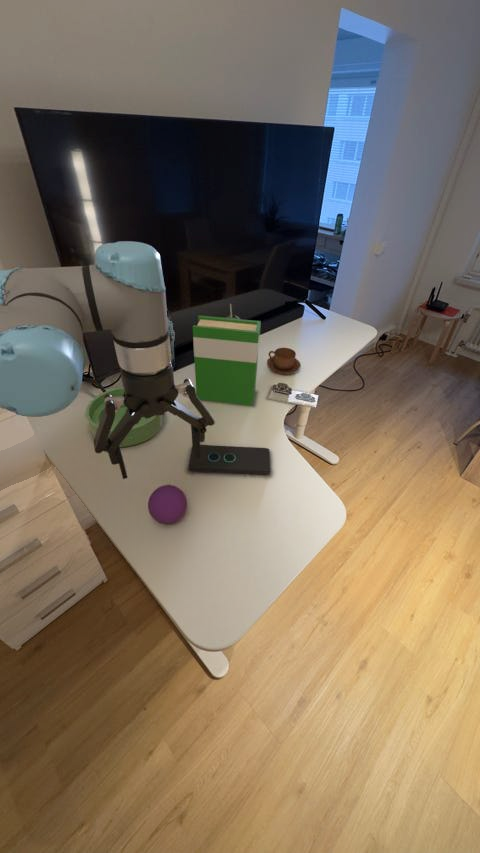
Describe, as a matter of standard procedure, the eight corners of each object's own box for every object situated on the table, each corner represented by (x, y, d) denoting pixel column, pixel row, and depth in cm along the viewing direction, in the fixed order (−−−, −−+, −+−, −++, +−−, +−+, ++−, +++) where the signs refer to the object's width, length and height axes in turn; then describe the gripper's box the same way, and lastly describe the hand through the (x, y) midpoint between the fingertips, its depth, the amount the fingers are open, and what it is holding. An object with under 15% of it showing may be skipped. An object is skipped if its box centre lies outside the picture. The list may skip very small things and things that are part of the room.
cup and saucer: (264, 374, 119) (265, 358, 115) (268, 357, 128) (270, 342, 124) (298, 379, 118) (301, 363, 114) (300, 361, 127) (303, 346, 123)
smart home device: (192, 443, 89) (269, 447, 89) (192, 448, 90) (268, 452, 90) (188, 467, 83) (270, 471, 83) (188, 472, 84) (269, 475, 84)
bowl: (75, 435, 92) (69, 418, 88) (120, 396, 106) (116, 380, 102) (137, 456, 87) (134, 439, 83) (175, 412, 101) (174, 396, 97)
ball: (143, 523, 73) (137, 500, 67) (162, 495, 78) (159, 472, 73) (176, 536, 71) (173, 514, 65) (194, 507, 76) (192, 484, 71)
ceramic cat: (176, 372, 118) (170, 316, 105) (157, 372, 117) (149, 316, 104) (180, 345, 133) (176, 293, 120) (163, 344, 132) (157, 292, 119)
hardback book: (196, 399, 107) (192, 326, 91) (201, 386, 112) (198, 315, 96) (252, 405, 105) (258, 332, 90) (255, 391, 111) (260, 321, 95)
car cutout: (268, 398, 108) (269, 386, 106) (272, 387, 113) (274, 375, 110) (315, 408, 106) (318, 396, 103) (318, 396, 111) (320, 384, 108)
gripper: (217, 339, 56) (217, 434, 70) (51, 365, 48) (88, 467, 62) (234, 361, 51) (231, 459, 65) (52, 394, 43) (92, 498, 57)
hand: (161, 463), depth 64 cm, fingers open, 13 cm apart
